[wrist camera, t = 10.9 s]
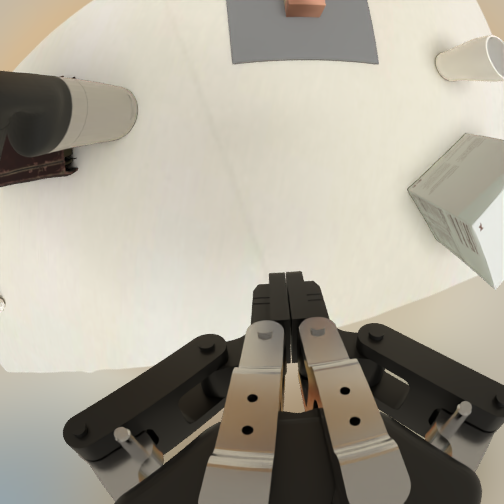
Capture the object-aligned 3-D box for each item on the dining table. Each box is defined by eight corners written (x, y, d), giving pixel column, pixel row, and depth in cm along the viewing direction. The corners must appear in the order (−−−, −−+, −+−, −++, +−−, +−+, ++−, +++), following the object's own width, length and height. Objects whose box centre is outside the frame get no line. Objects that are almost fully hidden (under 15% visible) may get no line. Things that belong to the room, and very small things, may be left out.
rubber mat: (233, 64, 34) (232, 63, 34) (222, -41, 25) (222, -42, 25) (377, 64, 33) (378, 63, 32) (354, -40, 24) (355, -41, 23)
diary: (80, 171, 42) (64, 178, 38) (5, 184, 43) (-10, 190, 39) (77, 73, 34) (61, 71, 30) (0, 106, 35) (-16, 108, 31)
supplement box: (437, 243, 44) (493, 293, 28) (404, 188, 41) (470, 226, 24) (490, 187, 39) (553, 218, 22) (464, 130, 35) (536, 144, 19)
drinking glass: (445, 44, 29) (498, 29, 15) (465, 76, 31) (521, 72, 17) (424, 57, 31) (478, 41, 17) (445, 91, 33) (503, 88, 19)
